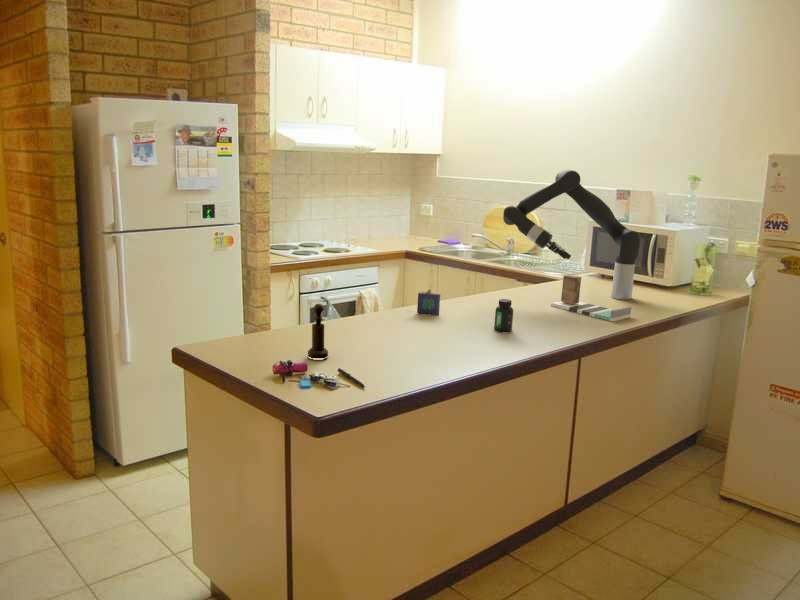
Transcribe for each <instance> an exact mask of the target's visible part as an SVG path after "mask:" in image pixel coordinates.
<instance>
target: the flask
mask: <svg viewBox="0 0 800 600" xmlns="http://www.w3.org/2000/svg"><path fill="white" fill-rule="evenodd" d="M440 302H441V293H438V292H437V293H434V292H432V289H431V288H428V290H427V291H422V292H418V293H417V307H416V308H417V310H416V314H417V313H419V314H418V315H421V314H431V315H430V316H439V315H440V308H441V307H440V305H441V303H440Z"/></svg>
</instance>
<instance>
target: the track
mask: <svg viewBox="0 0 800 600" xmlns="http://www.w3.org/2000/svg"><path fill="white" fill-rule="evenodd" d="M552 306H553V308H556V307H557V308H556V309H560V308H561V310H564V309H565V310H564V311H568V310H569V311H568V312H572V311H573V313H575V312H576V314H579V315H580V314H581V315H583V314H584V315H583V316H587V315H588V317H591V316H592V317H591V318H595V317H596V318H595V319H599V318H601V319H600V320H603V319H604V321H607V320H608V322H611V321H613V322H616V321H621V320H625V318H626V319H629V317H630V318H631V312H632V306H627V307H622V308H617V309H610V308H608V307H604V306H599V305H596V304H592V303H587V302H582V301H579V303H576V304H569V303H565V302H561V300H560V301H556V302H555V301H554V302H551V303H550V307H552Z"/></svg>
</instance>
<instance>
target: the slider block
mask: <svg viewBox="0 0 800 600" xmlns="http://www.w3.org/2000/svg"><path fill="white" fill-rule="evenodd" d="M581 283H582V276H579V275H574V274H567V275H563V278H562V287H561V298H560V301H561V302H565V303H569V304H576V303H579V302H580V295H581V294H580V293H581V285H582V284H581Z"/></svg>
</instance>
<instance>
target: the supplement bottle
mask: <svg viewBox="0 0 800 600" xmlns="http://www.w3.org/2000/svg"><path fill="white" fill-rule="evenodd" d="M512 301H513V300H511V299H508V298H507V299H506V298H499V299H498V306H496V307H495V311H494V313H495V314H494V326H493V330H494V331H495V332H497V331H498V333H502V332H508V333H511V332H512V330H513V322H514V321H513V320H514V309H513V307H512Z"/></svg>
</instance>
